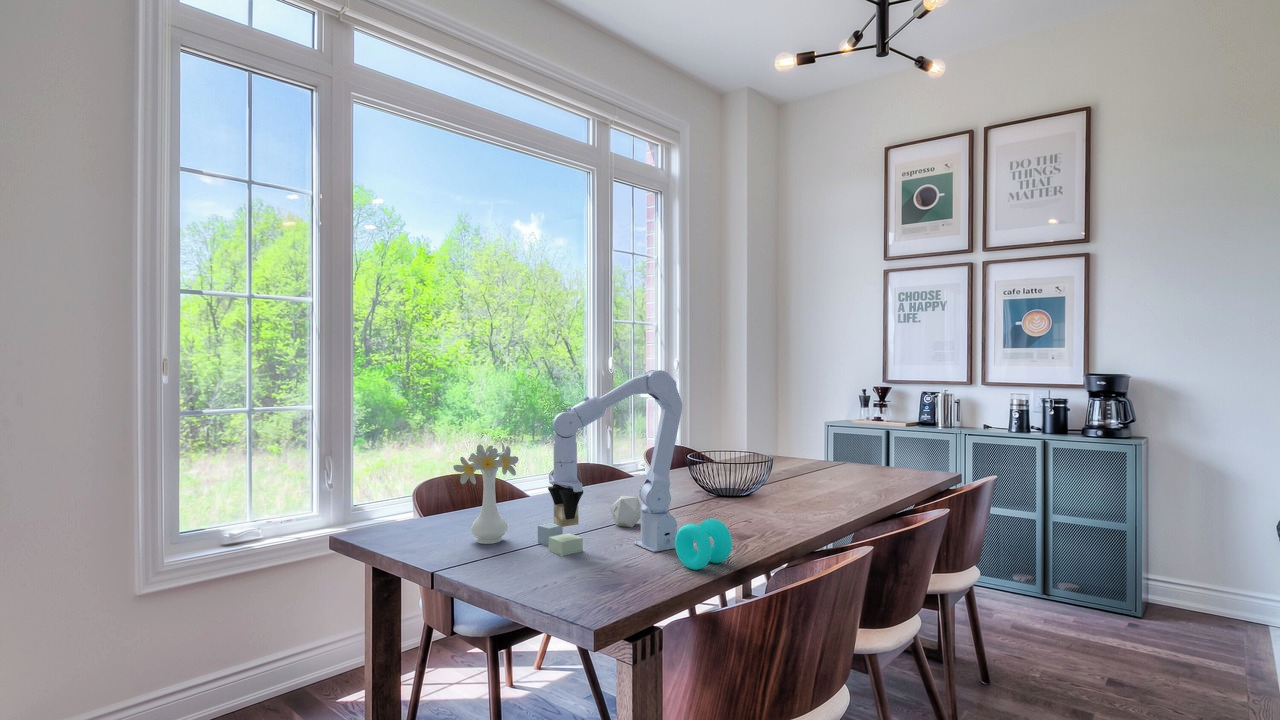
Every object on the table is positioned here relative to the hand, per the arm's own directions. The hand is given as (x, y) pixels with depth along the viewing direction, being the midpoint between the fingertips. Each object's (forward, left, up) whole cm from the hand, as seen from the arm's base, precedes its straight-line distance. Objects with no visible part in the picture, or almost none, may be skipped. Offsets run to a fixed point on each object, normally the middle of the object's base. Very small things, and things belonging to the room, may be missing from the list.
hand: (565, 516), depth 164 cm
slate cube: (+9, 0, -8) cm, 12 cm away
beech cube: (0, 0, -2) cm, 2 cm away
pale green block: (0, 0, -9) cm, 9 cm away
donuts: (-28, -21, -9) cm, 36 cm away
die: (+14, -26, -8) cm, 31 cm away
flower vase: (+18, +13, -8) cm, 24 cm away
